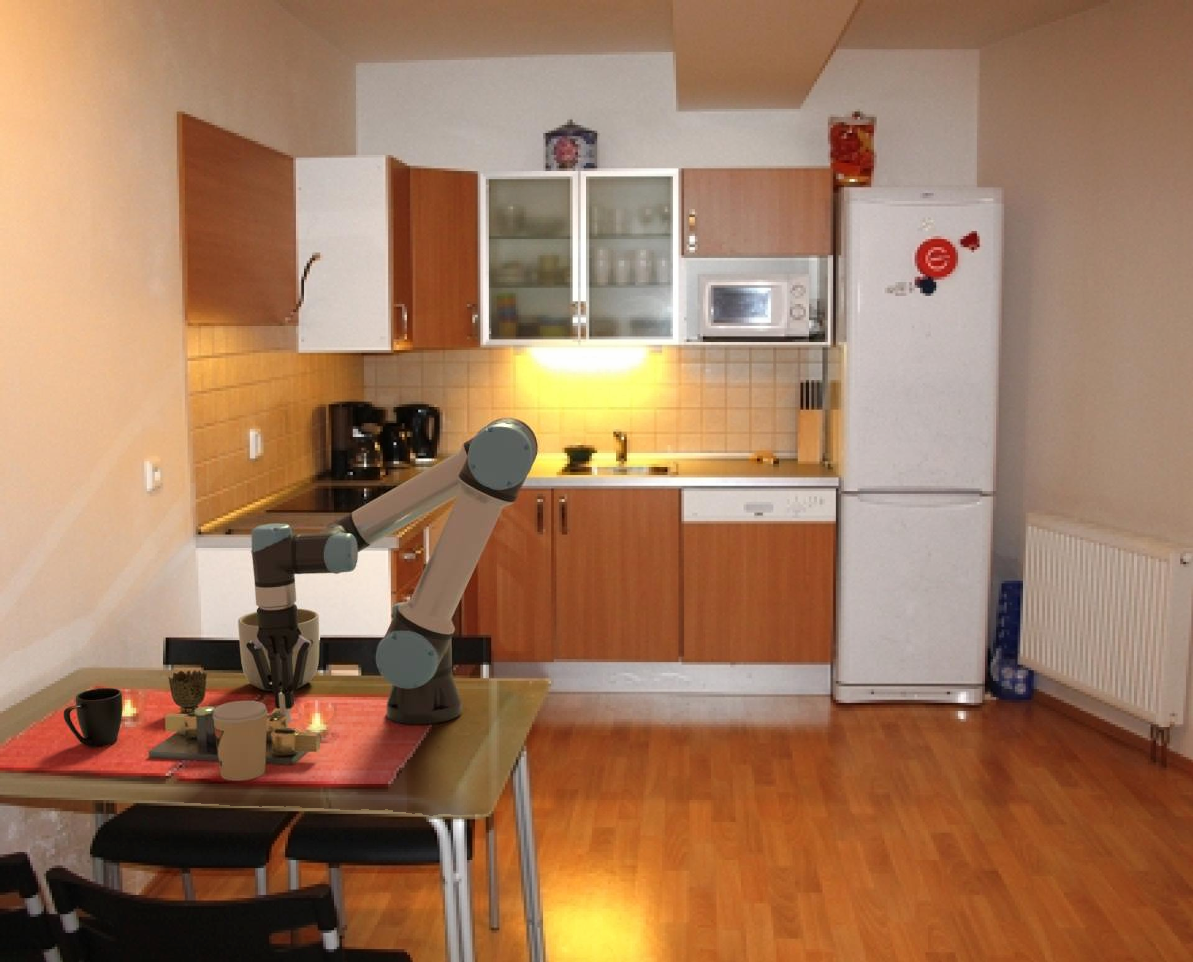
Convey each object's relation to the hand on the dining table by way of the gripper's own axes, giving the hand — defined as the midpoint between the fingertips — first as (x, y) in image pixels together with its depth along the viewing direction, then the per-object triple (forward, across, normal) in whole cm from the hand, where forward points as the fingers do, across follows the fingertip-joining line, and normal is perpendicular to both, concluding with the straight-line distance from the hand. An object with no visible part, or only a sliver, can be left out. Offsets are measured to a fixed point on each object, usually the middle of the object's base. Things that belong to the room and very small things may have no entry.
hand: (286, 724), depth 254 cm
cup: (+2, +25, -11) cm, 28 cm away
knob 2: (+1, +1, +3) cm, 3 cm away
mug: (+1, +34, +10) cm, 36 cm away
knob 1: (0, +17, +5) cm, 18 cm away
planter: (+2, +14, -32) cm, 35 cm away
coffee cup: (+2, 0, +20) cm, 21 cm away
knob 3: (+1, -7, +12) cm, 14 cm away
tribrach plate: (+2, +6, +8) cm, 11 cm away
